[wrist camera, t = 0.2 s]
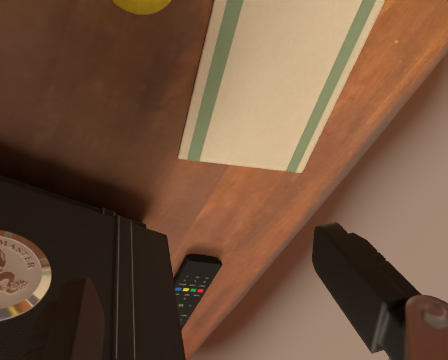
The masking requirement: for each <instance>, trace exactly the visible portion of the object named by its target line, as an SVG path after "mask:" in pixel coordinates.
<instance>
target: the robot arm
mask: <svg viewBox="0 0 448 360" xmlns="http://www.w3.org/2000/svg"><path fill="white" fill-rule="evenodd" d="M312 261H313V266H314V269H315V271H316V273H317V274H318V276H319V277H320V278H321V280H322V282H323V283H324V284H325V286H326V288H327V289H328V290H329V292H330V293H331V295H332V296H333V298H334V299H335V301H336V302H337V304H338V305H339V307H340V308H341V309H342V311H343V312H344V314H345V315H346V317H347V318H348V320H349V321H350V323H351V324H352V326H353V327H354V328H355V330H356V331H357V333H358V334H359V336H360V337H361V339H362V340H363V341H364V343H365V344H366V346H367V347H368V349H369V350H370V352H371V353H375V352H379V351H382V350H384V351H385V352H386V353H387V355H388V356H389V360H448V303H446V302H445V301H442V300H440V299H438V298H435V297H432V296H428V295H422V294H421V293H419V292H418V291H417V290H416V289H415V288H414V287H413V286H412V285H411V284H410V283H409V282H408V281H407V280H406V279H405V278H404V277H403V276H402V275H401V274H400V273H399V272H398V271H397V270H396V269H395V268H394V267H393V266H392V265H391V264H390V263H389V262H388V261H386V260H385V258H384V257H383V256H382V255H381V254H380V253H378V252H377V250H376V249H375V248H374V247H373V246H372V245H371V244H370V243H369V242H368V241H367V240H366V239H364V238H362V237H360V236H358V235H356V234H354V233H349V234H348V233H347V232H346V231H345V230H344V229H343V228H342V227H341V225H339V224H338V223H336V222H334V223H329V224H325V225H320V226H317V227H315V230H314V241H313V253H312ZM104 328H105V318H104V311H103V308H102V305H101V302H100V300H99V297H98V295H97V292H96V290H95V287H94V285H93V282H92V280H91V278H90V277H86V278H81V279H77V280H72V281H68V282H64V283H63V285H62V288H61V292H60V295H59V299H58V301H55V302H50V303H48V304H47V305H46V306H45V308H44V309H43V310H42V312H41V313H40V314H39V316H38V317H37V318H36V321H35V324H34V327H33V330H32V333H31V338H30V339H29V342H28V345H27V348H26V353H25V354H24V357H23V360H101V356H102V347H103V338H104Z"/></svg>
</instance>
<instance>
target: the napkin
mask: <svg viewBox="0 0 448 360" xmlns="http://www.w3.org/2000/svg"><path fill="white" fill-rule="evenodd" d="M384 1H385V0H214V2H213V7H212V11H211V15H210V19H209V24H208V28H207V32H206V37H205V41H204V45H203V50H202V54H201V58H200V62H199V67H198V71H197V75H196V80H195V84H194V88H193V92H192V97H191V101H190V105H189V110H188V114H187V118H186V123H185V127H184V131H183V135H182V140H181V144H180V148H179V153H178V159H185V160H190V161H203V162H212V163H220V164H229V165H238V166H246V167H255V168H264V169H272V170H281V171H287V172H299V173H302V171H303V169H304V167H305V165H306V163H307V161H308V159H309V157H310V155H311V153H312V151H313V149H314V147H315V145H316V142H317V140H318V138H319V136H320V134H321V132H322V130H323V128H324V126H325V124H326V122H327V120H328V118H329V116H330V113H331V111H332V109H333V107H334V105H335V103H336V101H337V99H338V97H339V95H340V93H341V91H342V89H343V86H344V84H345V82H346V80H347V78H348V76H349V74H350V72H351V70H352V68H353V66H354V64H355V62H356V60H357V57H358V55H359V53H360V51H361V49H362V47H363V45H364V43H365V41H366V39H367V37H368V35H369V33H370V31H371V28H372V26H373V24H374V22H375V20H376V18H377V16H378V14H379V12H380V10H381V8H382V6H383V4H384Z"/></svg>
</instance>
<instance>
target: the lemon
mask: <svg viewBox="0 0 448 360" xmlns="http://www.w3.org/2000/svg"><path fill="white" fill-rule="evenodd" d="M111 1H113V2H114V3H115V4H116V5H117V6H119V7H120V8H122V9H124V10H125V11H128V12H131V13H134V14H141V15H148V14H152V13H156V12H158V11H160V10H162V9H163V8H165V7H166V6H167V5H168V4H169V3H170V2H171V1H172V0H111Z"/></svg>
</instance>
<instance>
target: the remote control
mask: <svg viewBox="0 0 448 360" xmlns="http://www.w3.org/2000/svg"><path fill="white" fill-rule="evenodd" d="M221 266H222V262H221V261H220V260H218V259H216V258H213V257H210V256H204V255H192V256H188V257H187V258H186V260H185V262H184V264H183V265H182V267H181V269H180V271H179V273H178V275H177V276H176V278H175V280H174V287H175V293H176V300H177V306H178V313H179V320H180V326H181V330H182V328H183V327H184V325H185V324H186V322H187V320H188V319H189V317H190V316H191V314H192V312H193V311H194V309H195V308H196V306H197V304H198V303H199V301H200V300H201V298H202V296H203V295H204V293H205V292H206V290H207V288H208V287H209V285H210V284H211V282H212V280H213V279H214V277H215V276H216V274H217V272H218V271H219V269H220V268H221Z"/></svg>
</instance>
